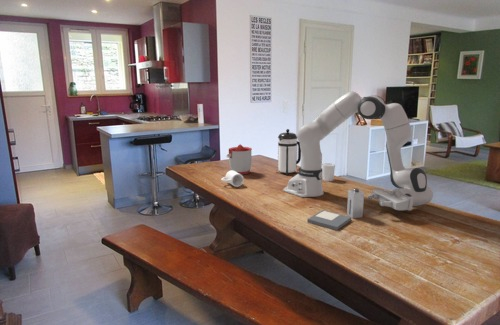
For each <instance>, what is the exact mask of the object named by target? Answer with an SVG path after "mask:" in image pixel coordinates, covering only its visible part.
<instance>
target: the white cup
mask: <svg viewBox="0 0 500 325" xmlns="http://www.w3.org/2000/svg"><path fill="white" fill-rule="evenodd" d="M335 168H336V164H335V163H333V162H331V163H330V162H324V163H322V181H323V182H324V181H325V182H333V181H334V178H335V177H334V176H335V170H336V169H335Z"/></svg>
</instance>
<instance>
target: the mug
mask: <svg viewBox="0 0 500 325" xmlns="http://www.w3.org/2000/svg"><path fill="white" fill-rule="evenodd" d="M244 179H245V178H244V175H241V174H239V173H237V172H236V171H234V170H231V169H230V170H229V171H227V172H226V174H225V176H224V177H222V178H221V181H222V182H224V183H229V184H230V185H231V186H233V187H236V188H239V187H241V186H242V185H243V184H244V181H245V180H244Z"/></svg>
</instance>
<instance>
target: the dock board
mask: <svg viewBox="0 0 500 325" xmlns="http://www.w3.org/2000/svg"><path fill="white" fill-rule="evenodd" d="M351 221H352V218H351V217H350V216H348V215H345V214H340V213H337V212H332V211H328V210H326V209H325V210H324V209H322V210H321V211H319V212H317V213H315V214H313V215H312V216H310V217H308V218H307V223H310V224H312V225H316V226H320V227H323V228H326V229H330V230H334V231H338V230H339V229H341V228H342V227H343V226H345V225H347V224H348V223H349V222H351Z"/></svg>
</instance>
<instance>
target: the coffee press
mask: <svg viewBox="0 0 500 325" xmlns="http://www.w3.org/2000/svg"><path fill="white" fill-rule="evenodd" d="M277 138H278V142H277V144H278V145H277V146H278V152H277V154H278V155H277V158H278V159H277V169H276V173H277V174H278V173H285V177H286V176H289V173H296V172H297V169H298V168H297V164H299V163H301V148H300V142H299V140H298V138H297V134H296V133H294V132H290V129H289V128H287V129H286V130H285V132H282V133H280V134H278V137H277Z"/></svg>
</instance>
